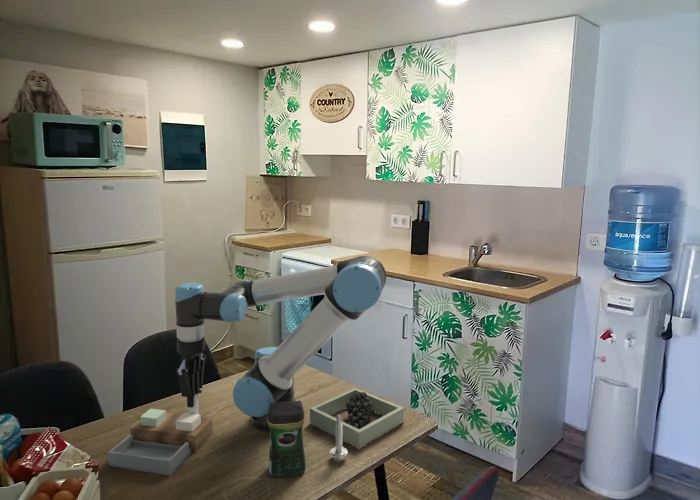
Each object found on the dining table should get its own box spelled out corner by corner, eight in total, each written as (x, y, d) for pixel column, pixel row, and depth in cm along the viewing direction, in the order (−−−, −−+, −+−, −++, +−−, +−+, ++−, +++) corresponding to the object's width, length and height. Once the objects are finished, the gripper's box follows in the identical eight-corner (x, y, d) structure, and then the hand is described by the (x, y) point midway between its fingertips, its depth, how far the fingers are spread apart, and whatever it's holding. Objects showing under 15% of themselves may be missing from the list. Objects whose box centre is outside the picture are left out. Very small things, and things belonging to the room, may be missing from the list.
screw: (345, 453, 142) (349, 462, 137) (328, 454, 141) (331, 464, 136) (346, 409, 140) (349, 417, 135) (328, 410, 139) (331, 419, 134)
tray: (190, 454, 140) (190, 440, 140) (170, 475, 131) (170, 461, 130) (132, 446, 144) (131, 433, 144) (108, 466, 135) (107, 452, 134)
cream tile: (201, 422, 148) (200, 414, 147) (192, 431, 143) (191, 423, 142) (185, 420, 149) (184, 412, 148) (175, 429, 144) (175, 421, 143)
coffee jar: (304, 459, 138) (303, 395, 135) (306, 477, 131) (306, 409, 128) (268, 462, 137) (266, 397, 134) (268, 480, 129) (266, 411, 126)
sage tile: (166, 418, 150) (166, 410, 149) (156, 426, 145) (156, 418, 145) (151, 416, 151) (150, 408, 150) (140, 424, 146) (140, 416, 146)
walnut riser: (212, 434, 151) (212, 418, 150) (195, 452, 141) (195, 436, 140) (151, 426, 155) (150, 411, 154) (131, 443, 145) (130, 427, 145)
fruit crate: (403, 422, 159) (403, 407, 158) (359, 449, 144) (359, 432, 143) (354, 401, 172) (355, 387, 171) (310, 423, 158) (309, 408, 157)
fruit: (361, 408, 149) (369, 385, 163) (334, 414, 151) (345, 390, 165) (370, 435, 150) (377, 410, 164) (344, 440, 152) (353, 415, 166)
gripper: (191, 329, 152) (193, 403, 156) (165, 344, 139) (168, 424, 143) (214, 331, 150) (215, 407, 154) (190, 347, 138) (193, 428, 142)
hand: (193, 415), depth 149 cm, fingers closed
